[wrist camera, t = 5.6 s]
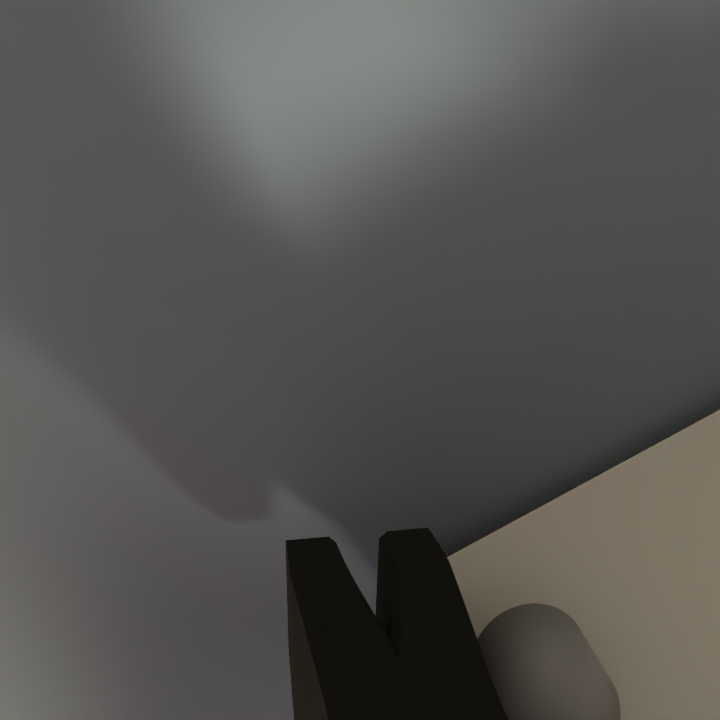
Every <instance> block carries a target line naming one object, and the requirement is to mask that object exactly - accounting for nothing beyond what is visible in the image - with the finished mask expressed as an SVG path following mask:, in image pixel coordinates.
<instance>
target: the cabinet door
mask: <svg viewBox="0 0 720 720" xmlns="http://www.w3.org/2000/svg"><path fill="white" fill-rule="evenodd" d="M447 559H448V560H449V562H450V565H451V567H452V570H453V573H454V575H455V578H456V581H457V584H458V586H459V589H460V592H461V595H462V597H463V600H464V603H465V606H466V609H467V612H468V614H469V617H470V620H471V623H472V626H473V629H474V631H475V634H476V637H477V640H478V643H479V645H480V648H481V651H482V654H483V657H484V660H485V662H486V665H487V668H488V671H489V674H490V677H491V679H492V682H493V684H494V687H495V689H496V692H497V694H498V696H499V699H500V701H501V704H502V706H503V708H504V711H505V713H506V715H507V717H508V719H509V720H720V410H718V411H716V412H715V413H713V414H711V415H709V416H707V417H705V418H703V419H702V420H700V421H698V422H696V423H694V424H692V425H690V426H689V427H687V428H685V429H683V430H681V431H679V432H678V433H676V434H674V435H672V436H670V437H668V438H666V439H665V440H663V441H661V442H659V443H657V444H655V445H654V446H652V447H650V448H648V449H646V450H644V451H642V452H641V453H639V454H637V455H635V456H633V457H631V458H630V459H628V460H626V461H624V462H622V463H620V464H618V465H617V466H615V467H613V468H611V469H609V470H607V471H605V472H604V473H602V474H600V475H598V476H596V477H594V478H593V479H591V480H589V481H587V482H585V483H583V484H581V485H580V486H578V487H576V488H574V489H572V490H570V491H569V492H567V493H565V494H563V495H561V496H559V497H557V498H556V499H554V500H552V501H550V502H548V503H546V504H545V505H543V506H541V507H539V508H537V509H535V510H533V511H532V512H530V513H528V514H526V515H524V516H522V517H520V518H519V519H517V520H515V521H513V522H511V523H509V524H508V525H506V526H504V527H502V528H500V529H498V530H496V531H495V532H493V533H491V534H489V535H487V536H485V537H484V538H482V539H480V540H478V541H476V542H474V543H472V544H471V545H469V546H467V547H465V548H463V549H461V550H460V551H458V552H456V553H454V554H452V555H450V556H448V557H447Z"/></svg>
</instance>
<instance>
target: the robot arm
mask: <svg viewBox="0 0 720 720" xmlns="http://www.w3.org/2000/svg"><path fill="white" fill-rule="evenodd" d="M286 568H287V603H288V638H289V657H290V670H291V684H292V697H293V710H294V720H509V719H508V717H507V715H506V713H505V711H504V708H503V706H502V704H501V701H500V699H499V696H498V694H497V692H496V689H495V687H494V684H493V682H492V679H491V677H490V674H489V671H488V668H487V665H486V662H485V660H484V657H483V654H482V651H481V648H480V645H479V643H478V640H477V637H476V634H475V631H474V629H473V626H472V623H471V620H470V617H469V614H468V612H467V609H466V606H465V603H464V600H463V597H462V595H461V592H460V589H459V586H458V584H457V581H456V578H455V575H454V573H453V570H452V567H451V565H450V562H449V560H448V559H447V557H446V555H445V553H444V552H443V550H442V548H441V547H440V545H439V543H438V542H437V540H436V539H435V537H434V536H433V535H432V533H431V532H430V530H429V529H428V528H421V529H409V530H398V531H387V532H386V533H385V534H384V535H383V536H382V537H380V538H379V555H378V577H377V599H376V616H375V615H374V613H373V611H372V610H371V608H370V607H369V605H368V603H367V602H366V600H365V598H364V596H363V595H362V593H361V591H360V590H359V588H358V586H357V584H356V583H355V581H354V579H353V577H352V575H351V573H350V571H349V570H348V568H347V566H346V564H345V562H344V559H343V557H342V555H341V553H340V551H339V549H338V546H337V544H336V542H335V541H333V540H332V539H331V538H330V537H320V538H309V539H297V540H286Z"/></svg>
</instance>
